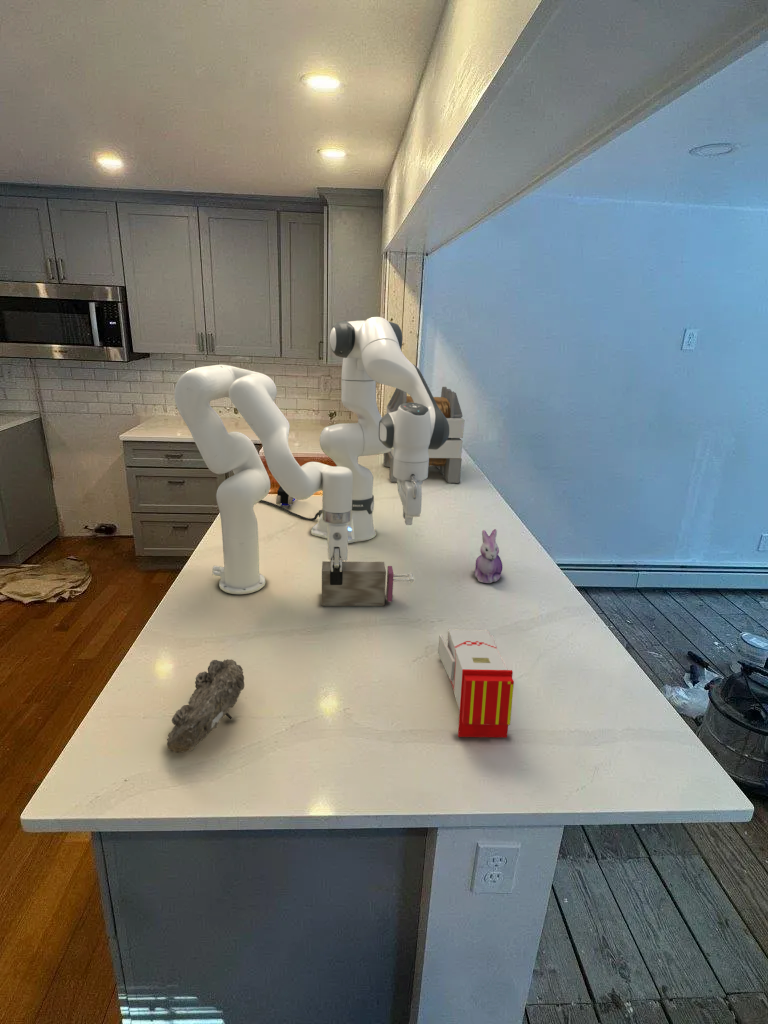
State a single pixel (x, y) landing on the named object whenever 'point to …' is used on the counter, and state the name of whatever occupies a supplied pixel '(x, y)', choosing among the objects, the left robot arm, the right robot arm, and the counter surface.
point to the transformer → (451, 450)
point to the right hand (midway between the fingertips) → (407, 521)
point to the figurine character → (284, 498)
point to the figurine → (488, 559)
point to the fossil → (206, 705)
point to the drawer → (390, 581)
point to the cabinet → (355, 584)
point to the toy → (478, 682)
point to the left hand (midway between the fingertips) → (336, 578)
